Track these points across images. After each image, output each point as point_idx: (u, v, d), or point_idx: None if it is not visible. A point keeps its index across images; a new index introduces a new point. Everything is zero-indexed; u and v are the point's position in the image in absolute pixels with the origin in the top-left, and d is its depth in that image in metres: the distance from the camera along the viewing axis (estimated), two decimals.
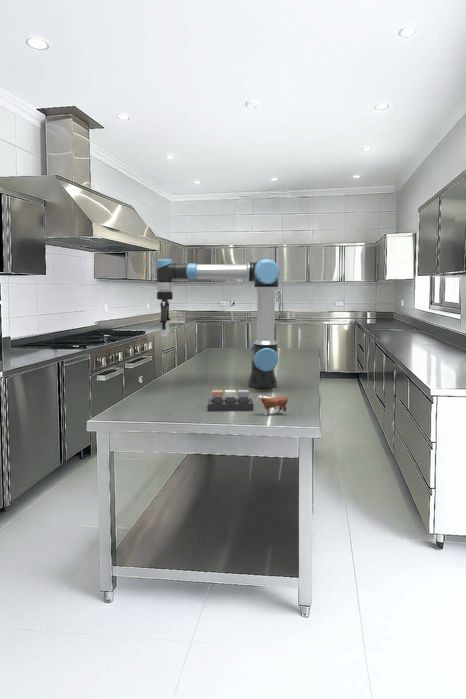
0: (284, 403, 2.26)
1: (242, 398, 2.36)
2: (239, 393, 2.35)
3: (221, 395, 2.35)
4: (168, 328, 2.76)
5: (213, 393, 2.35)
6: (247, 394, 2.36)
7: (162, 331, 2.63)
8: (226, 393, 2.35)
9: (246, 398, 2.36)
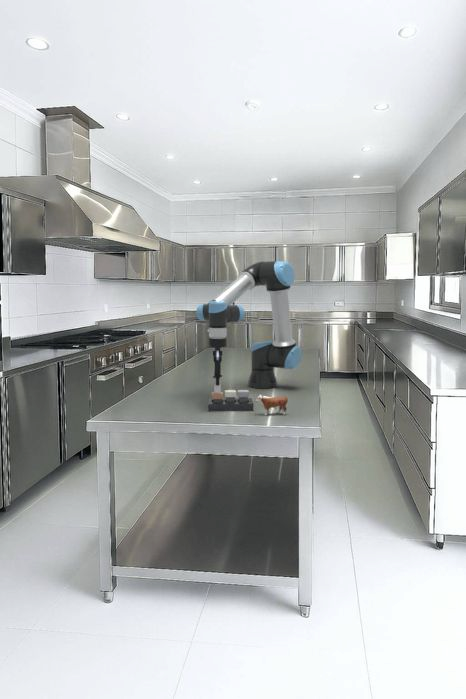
0: (284, 403, 2.26)
1: (242, 398, 2.36)
2: (239, 393, 2.35)
3: (221, 397, 2.35)
4: None
5: (213, 395, 2.35)
6: (247, 394, 2.36)
7: (215, 387, 2.36)
8: (226, 393, 2.35)
9: (246, 398, 2.36)
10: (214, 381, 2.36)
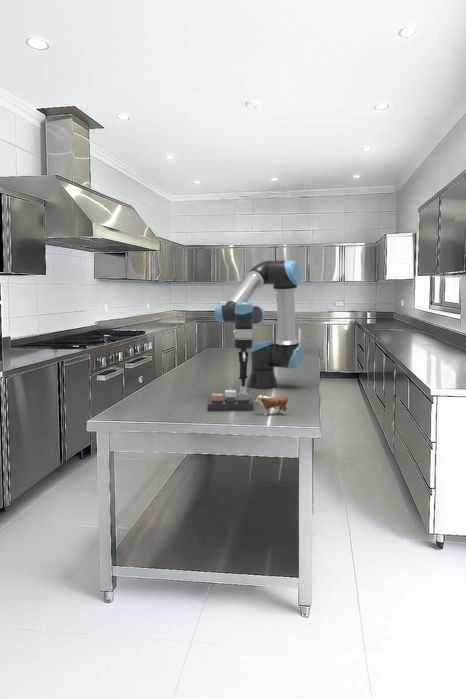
0: (284, 403, 2.26)
1: (242, 401, 2.36)
2: (239, 396, 2.35)
3: (221, 399, 2.35)
4: (245, 387, 2.37)
5: (213, 397, 2.35)
6: (247, 397, 2.36)
7: (241, 388, 2.37)
8: (226, 393, 2.35)
9: (246, 401, 2.36)
10: (240, 382, 2.36)
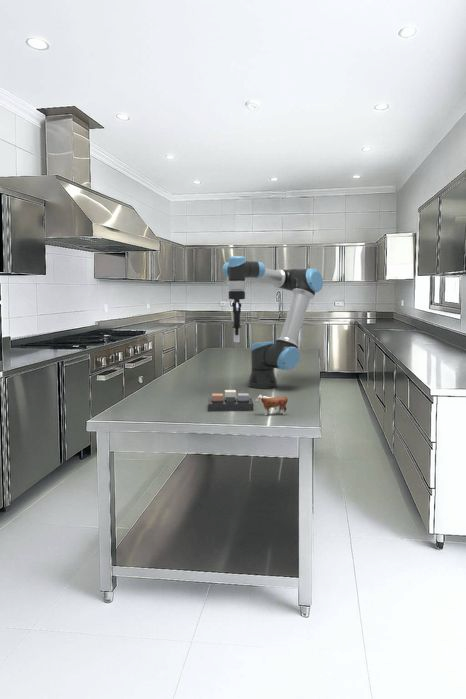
0: (284, 403, 2.26)
1: (242, 401, 2.36)
2: (239, 397, 2.36)
3: (221, 399, 2.35)
4: None
5: (213, 397, 2.35)
6: (247, 398, 2.36)
7: (235, 337, 2.54)
8: (226, 393, 2.35)
9: None
10: None
